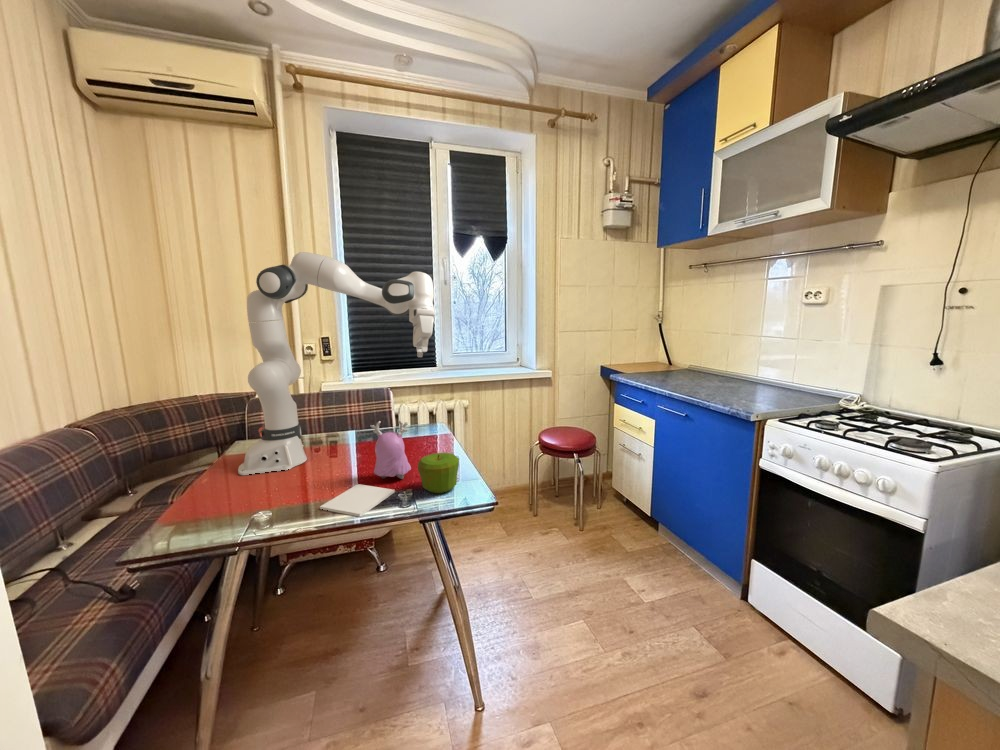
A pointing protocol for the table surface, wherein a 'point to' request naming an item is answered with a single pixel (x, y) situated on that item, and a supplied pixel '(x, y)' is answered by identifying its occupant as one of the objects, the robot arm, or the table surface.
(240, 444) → the table surface
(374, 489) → the mat
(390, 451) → the toy character
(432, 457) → the apple
